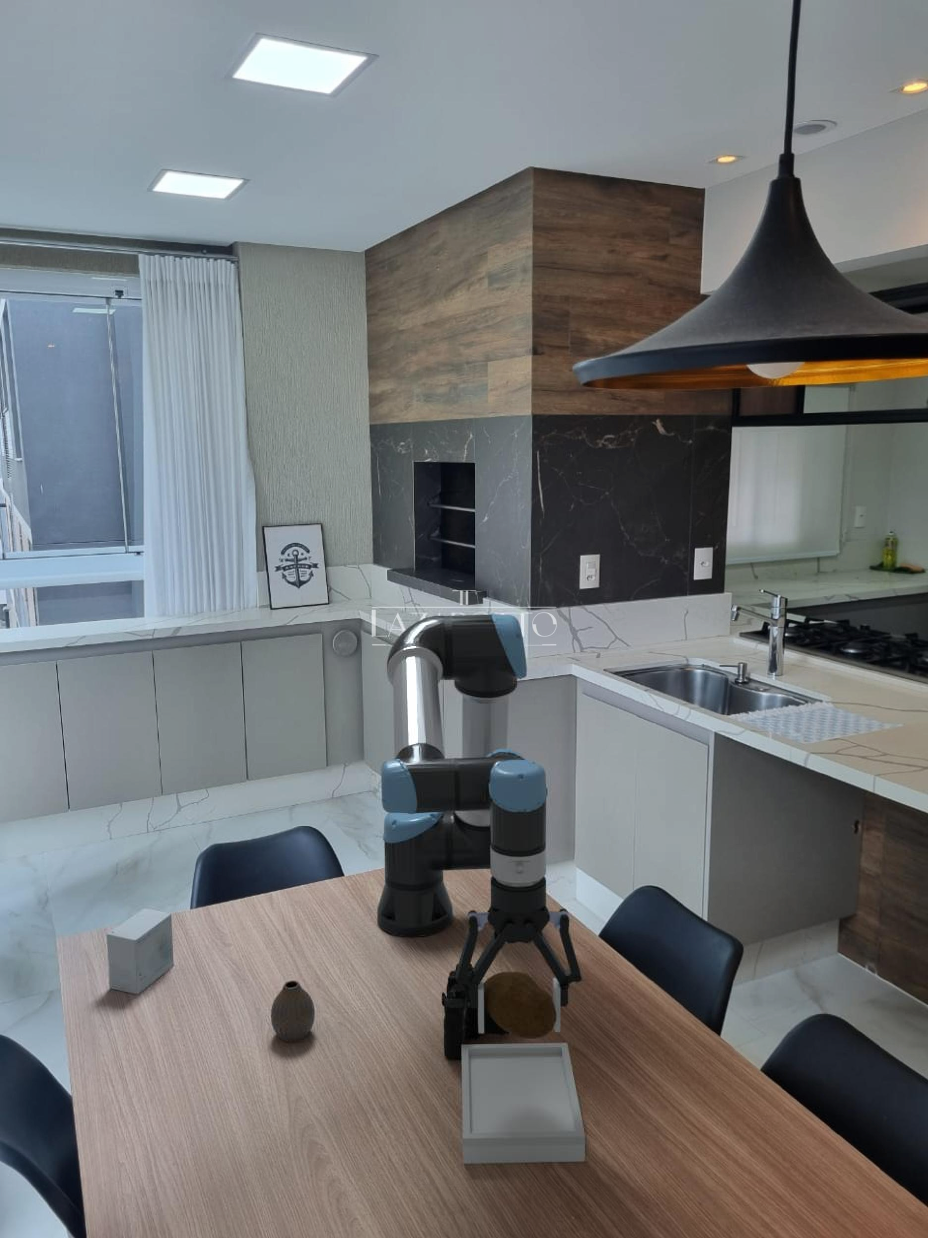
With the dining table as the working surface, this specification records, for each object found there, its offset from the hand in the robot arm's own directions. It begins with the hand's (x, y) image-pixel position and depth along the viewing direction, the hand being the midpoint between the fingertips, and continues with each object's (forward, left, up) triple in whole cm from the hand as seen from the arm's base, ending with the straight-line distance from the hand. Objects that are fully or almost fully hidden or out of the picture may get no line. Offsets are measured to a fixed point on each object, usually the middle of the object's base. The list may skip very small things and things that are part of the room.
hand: (518, 1027), depth 132 cm
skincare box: (-37, -65, -13) cm, 76 cm away
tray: (0, 0, -13) cm, 13 cm away
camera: (-18, -5, -13) cm, 23 cm away
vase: (-19, -35, -13) cm, 42 cm away
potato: (0, 0, 0) cm, 1 cm away
